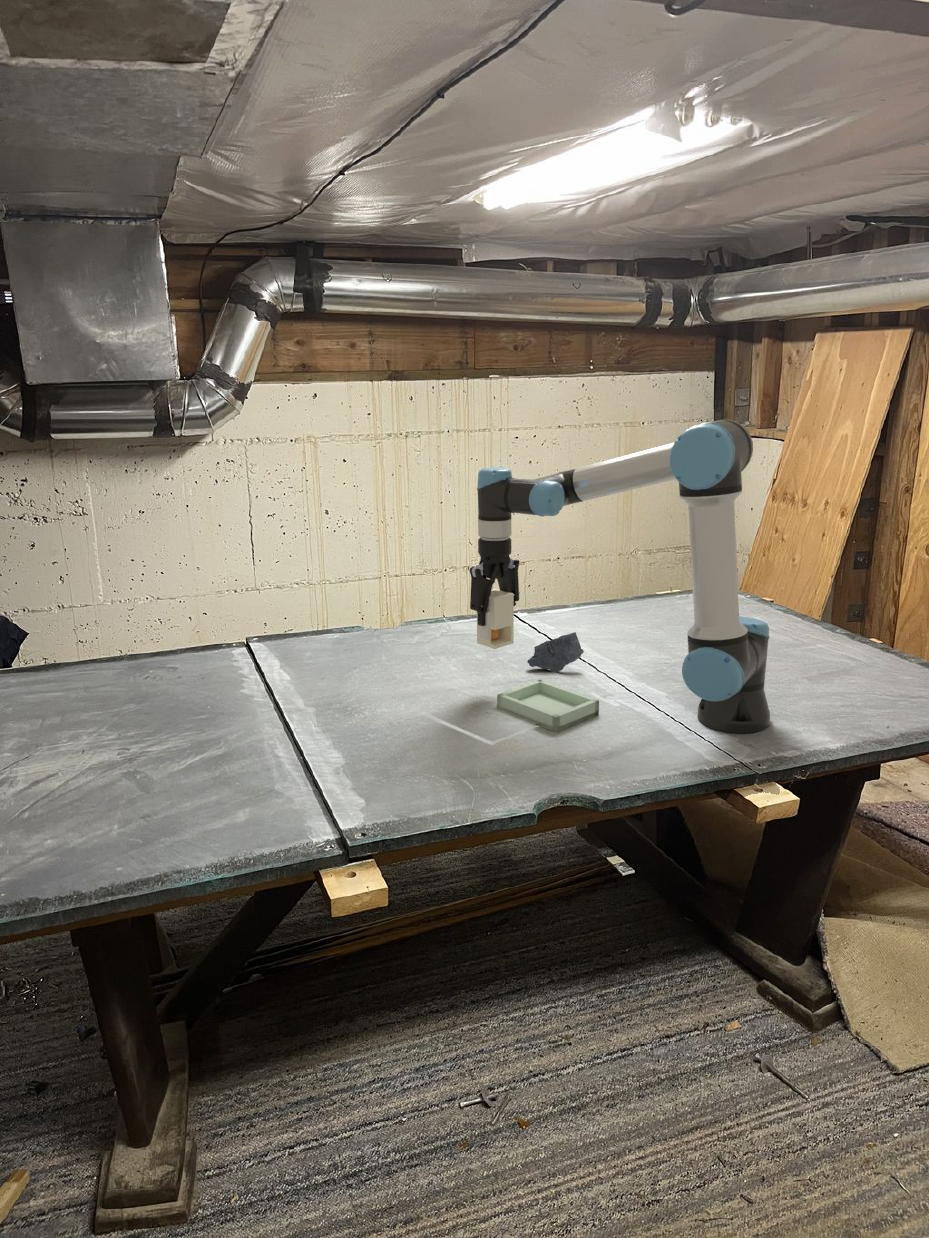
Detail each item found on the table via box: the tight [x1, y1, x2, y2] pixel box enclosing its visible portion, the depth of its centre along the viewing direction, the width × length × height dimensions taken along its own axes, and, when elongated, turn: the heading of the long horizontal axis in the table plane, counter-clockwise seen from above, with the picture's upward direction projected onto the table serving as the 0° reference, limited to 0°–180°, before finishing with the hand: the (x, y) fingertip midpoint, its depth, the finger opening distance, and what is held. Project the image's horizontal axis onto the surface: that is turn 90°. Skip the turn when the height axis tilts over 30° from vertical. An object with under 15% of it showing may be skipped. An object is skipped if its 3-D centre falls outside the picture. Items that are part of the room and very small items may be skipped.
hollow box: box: [476, 588, 515, 650], centre depth 207 cm, size 6×6×12 cm
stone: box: [527, 632, 585, 674], centre depth 226 cm, size 14×6×10 cm, turn 113°
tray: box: [496, 679, 600, 733], centre depth 201 cm, size 18×14×4 cm
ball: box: [491, 629, 499, 640], centre depth 208 cm, size 3×3×3 cm
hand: (495, 635), depth 208 cm, fingers closed on hollow box, 6 cm apart
